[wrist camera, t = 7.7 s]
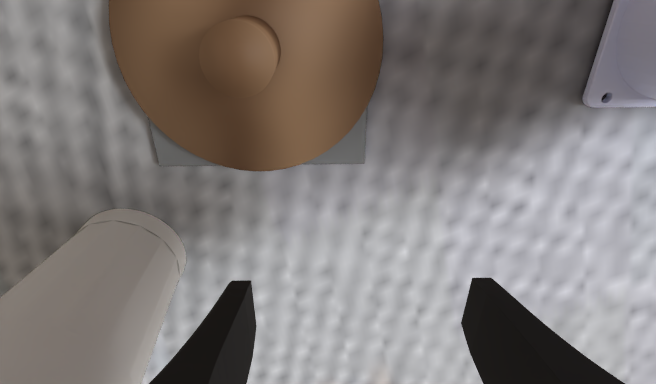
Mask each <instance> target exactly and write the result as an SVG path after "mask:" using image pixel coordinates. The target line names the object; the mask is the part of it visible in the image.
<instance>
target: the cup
mask: <svg viewBox="0 0 656 384" xmlns="http://www.w3.org/2000/svg"><path fill="white" fill-rule="evenodd" d="M185 265H186V252H185V248H184V245H183V243H182V241H181V239H180V238H179V236H178V235H177V234H176V233H175V231H174V230H173V229H172V228H171V227H169V226H168V225H167V224H166V223H164V222H163V221H161V220H160V219H158V218H156V217H154V216H152V215H150V214H148V213H145V212H142V211H138V210H133V209H111V210H107V211H103V212H101V213H98V214H96V215H95V216H93V217H92V218H91V219H89V220H88V221H87V222H86V223H85V224H84V225H83V226H82V227H81V228H80V229H79V231H78V232H77V233H76V234H75V235H74V236H73V237H72V238H71V239H70V240H68V241H67V242H66V243H65V244H64V245H62V246H61V247H60V248H59V249H58V250H57V251H55V252H54V253H53V254H52V255H51V256H49V257H48V258H47V259H46V260H45V261H43V262H42V263H41V264H40V265H39V266H37V267H36V268H35V269H34V270H33V271H32V272H30V273H29V274H28V275H27V276H26V277H24V278H23V279H22V280H21V281H20V282H18V283H17V284H16V285H15V286H14V287H12V288H11V289H10V290H9V291H8V292H7V293H5V294H4V295H3V296H2V297H1V298H0V384H141V383H142V380H143V377H144V374H145V372H146V369H147V366H148V363H149V360H150V358H151V355H152V352H153V349H154V346H155V344H156V341H157V338H158V335H159V332H160V330H161V327H162V324H163V321H164V318H165V316H166V313H167V310H168V307H169V304H170V302H171V299H172V296H173V293H174V290H175V288H176V286H177V284H178V282H179V279H180V277H181V275H182V273H183V271H184V269H185Z"/></svg>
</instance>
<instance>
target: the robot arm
mask: <svg viewBox="0 0 656 384" xmlns="http://www.w3.org/2000/svg"><path fill="white" fill-rule="evenodd" d="M606 93H607V96H606V98H605V99H604V100H603V101H601V100H602V97H603V95H604V94H606ZM583 103H584V104H585V105H586V106H589V107H592V108H608V107H656V0H614V1H613V4H612V7H611V11H610V14H609V17H608V20H607V23H606V26H605V29H604V32H603V35H602V39H601V42H600V45H599V48H598V51H597V54H596V57H595V60H594V63H593V67H592V70H591V73H590V76H589V79H588V82H587V85H586V88H585V91H584V95H583ZM461 324H462V327H463V331H464V334H465V338H466V341H467V344H468V347H469V351H470V354H471V356H472V358H473V361H474V363H475V365H476V368H477V370H478V372H479V375H480V377H481V379H482V381H483V384H625V383H623V382H622V381H620V380H618V379H617V378H616V377H614V376H613V375H611V374H610V373H608V372H607V371H605V370H604V369H602V368H601V367H600V366H598V365H597V364H595V363H594V362H592V361H591V360H590V359H588V358H587V357H586V356H584V355H583V354H581V353H580V352H579V351H578V350H576V349H575V348H574V347H572V346H571V345H570V344H568V343H567V342H566V341H565V340H563V339H562V338H561V337H560V336H558V335H557V334H556V333H555V332H553V331H552V330H551V329H550V328H548V327H547V326H546V325H545V324H544V323H542V322H541V321H540V320H539V319H538V318H537V317H535V316H534V315H533V314H532V313H531V312H530V311H528V310H527V309H526V308H525V307H524V306H523V305H522V304H520V303H519V302H518V301H517V300H516V299H515V298H514V297H513V296H511V295H510V294H509V293H508V292H507V291H506V290H505V289H503V288H502V287H501V286H500V285H499V284H498V283H497V282H495V281H494V280H493V279H492V278H472V282H471V286H470V290H469V294H468V298H467V302H466V306H465V310H464V314H463V318H462V322H461ZM255 333H256V320H255V311H254V303H253V294H252V285H251V281H231V282H230V283H229V284H228V286H227V287H226V289H225V290H224V292H223V293H222V295H221V296H220V298H219V299H218V301H217V302H216V304H215V305H214V307H213V308H212V309H211V311H210V312H209V314H208V315H207V316H206V318H205V319H204V320H203V322H202V323H201V324H200V326H199V327H198V328H197V330H196V331H195V332H194V333H193V335H192V336H191V337H190V338H189V340H188V341H187V342H186V343H185V344H184V346H183V347H182V348H181V349H180V350H179V352H178V353H177V354H176V355H175V356H174V357H173V359H172V360H171V361H170V362H169V363H168V364H167V365H166V366H165V367H164V369H163V370H162V371H161V372H160V373H159V374H158V375H157V376H156V377H155V378H154V379H153V380H152V381H151V382H150V383H149V384H246V383H247V379H248V374H249V370H250V366H251V361H252V357H253V349H254V341H255Z"/></svg>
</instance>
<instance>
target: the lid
mask: <svg viewBox="0 0 656 384" xmlns="http://www.w3.org/2000/svg"><path fill="white" fill-rule="evenodd" d="M109 25H110V32H111V39H112V45H113V48H114V52H115V56H116V59H117V63H118V65H119V68H120V70H121V73H122V75H123V78H124V80H125V82H126V84H127V86H128V87H129V89H130V91H131V93H132V95H133V97H134V98H135V99H136V101H137V102H138V104H139V105H140V107H141V108H142V110H143V111H144V112H145V113H146V115H147V116H148V117H149V118H150V119H151V120H152V122H153V123H154V124H155V125H156V126H157V127H158V128H159V129H160V130H161V131H162V132H164V133H165V134H166V135H167V136H168V137H169V138H171V139H172V140H173V141H174V142H176V143H177V144H178V145H180V146H181V147H183V148H184V149H186V150H188V151H189V152H191V153H193V154H195V155H196V156H199V157H201V158H203V159H205V160H207V161H210V162H212V163H215V164H218V165H221V166H225V167H229V168H234V169H239V170H248V171H272V170H279V169H286V168H289V167H293V166H296V165H300V164H302V163H305V162H307V161H310V160H312V159H314V158H316V157H318V156H319V155H321V154H323V153H325V152H326V151H328V150H329V149H330V148H332V147H333V146H334V145H336V144H337V143H338V142H339V141H340V140H341V139H342V138H343V137H344V136H345V135H346V134H347V133H348V132H349V131H350V130H351V129H352V128H353V126H354V125H355V124H356V123H357V121H358V120H359V119H360V117H361V115H362V114H363V112H364V110H365V109H366V107H367V105H368V103H369V101H370V99H371V97H372V94H373V92H374V90H375V86H376V83H377V80H378V76H379V73H380V67H381V61H382V54H383V27H382V16H381V11H380V6H379V1H378V0H109Z"/></svg>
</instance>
